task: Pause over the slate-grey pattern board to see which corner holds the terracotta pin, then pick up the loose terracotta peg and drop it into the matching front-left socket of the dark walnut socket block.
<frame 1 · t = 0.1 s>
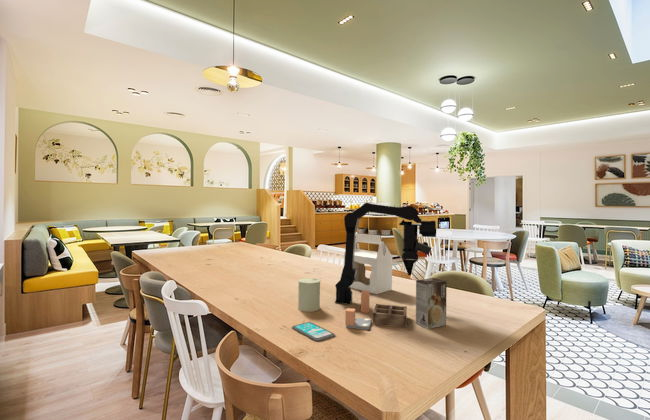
hand: (409, 273, 138), 15 cm above the table, tool pointing down, fingers open, 9 cm apart
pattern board: (359, 324, 118), on the table
socket block: (390, 320, 123), on the table
can: (308, 308, 136), on the table
peg: (365, 311, 133), on the table
gable box: (367, 288, 171), on the table
smartphone: (313, 333, 111), on the table
coffee box: (430, 325, 119), on the table
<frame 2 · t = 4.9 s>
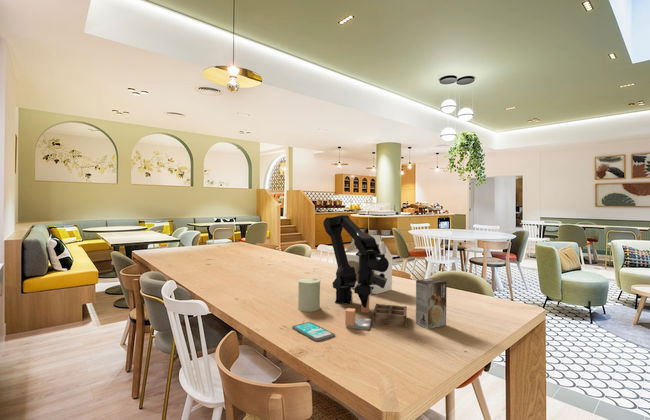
hand: (365, 306, 133), 2 cm above the table, tool pointing down, fingers closed on peg, 3 cm apart
peg: (365, 311, 133), on the table, touching gripper
everything else where it was.
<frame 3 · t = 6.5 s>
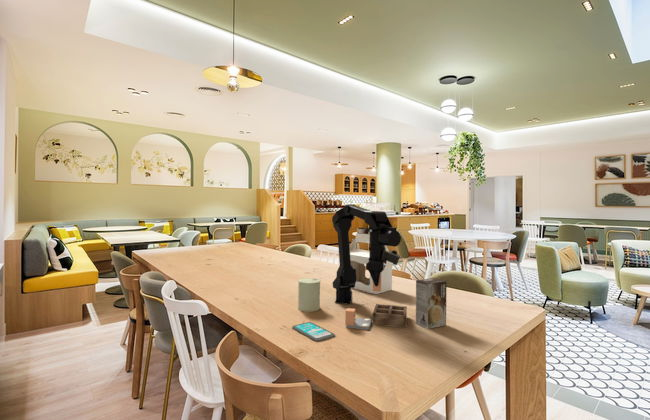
hand: (376, 285, 125), 13 cm above the table, tool pointing down, fingers closed on peg, 3 cm apart
peg: (377, 290, 125), point 11 cm above the table, touching gripper
everything else where it was.
when the fingers open (5 cm above the table, at t = 8.4 s): peg drops 2 cm, resting on socket block.
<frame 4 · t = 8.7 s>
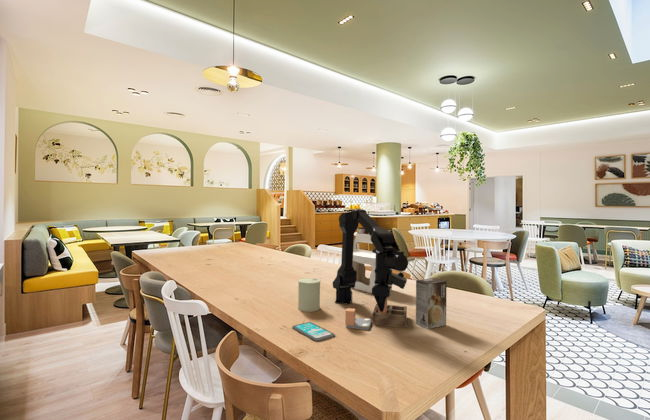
hand: (382, 308, 121), 5 cm above the table, tool pointing down, fingers open, 7 cm apart
peg: (382, 319, 121), point 1 cm above the table, touching socket block
everything else where it was.
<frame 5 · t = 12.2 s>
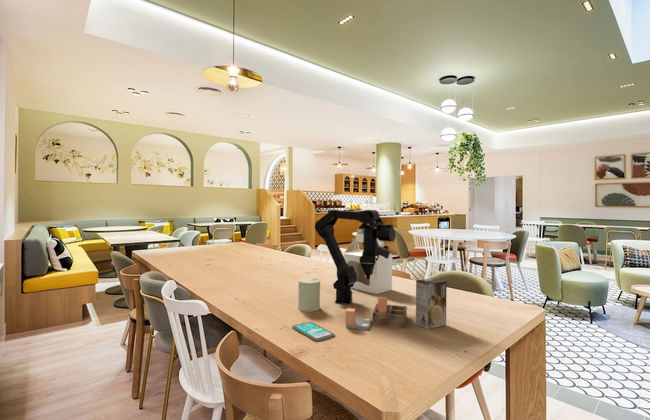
hand: (369, 276, 138), 13 cm above the table, tool pointing down, fingers open, 9 cm apart
nothing on the table moved.
at the end: peg 0.0 cm from the target spot on the socket block, point 1.0 cm above the socket block's base; peg tilted 0°; the gripper is holding nothing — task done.
